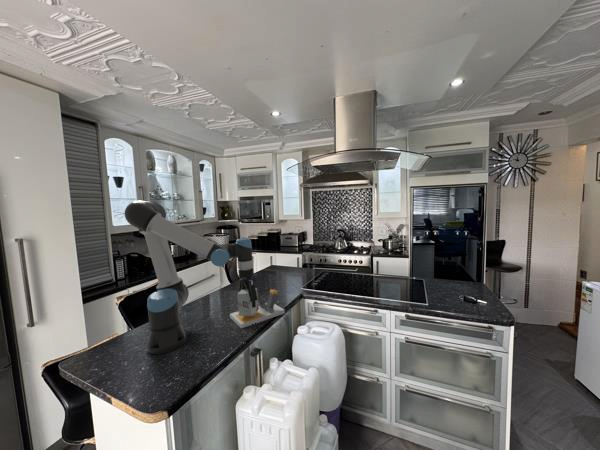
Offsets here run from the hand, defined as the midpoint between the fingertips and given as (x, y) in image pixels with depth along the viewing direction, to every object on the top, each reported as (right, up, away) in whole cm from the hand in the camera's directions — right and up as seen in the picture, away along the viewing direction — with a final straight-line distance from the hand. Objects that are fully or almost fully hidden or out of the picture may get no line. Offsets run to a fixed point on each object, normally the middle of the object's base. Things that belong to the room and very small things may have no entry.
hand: (248, 309), depth 128 cm
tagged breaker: (+10, -1, +5) cm, 11 cm away
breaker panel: (+4, -5, +5) cm, 8 cm away
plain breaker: (+5, -1, +13) cm, 14 cm away
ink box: (0, -2, 0) cm, 2 cm away
